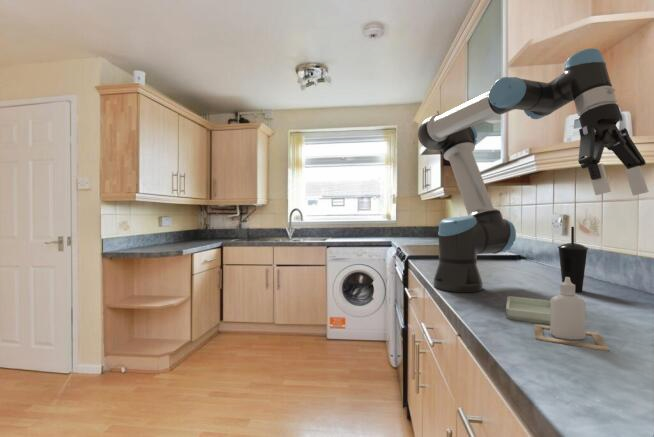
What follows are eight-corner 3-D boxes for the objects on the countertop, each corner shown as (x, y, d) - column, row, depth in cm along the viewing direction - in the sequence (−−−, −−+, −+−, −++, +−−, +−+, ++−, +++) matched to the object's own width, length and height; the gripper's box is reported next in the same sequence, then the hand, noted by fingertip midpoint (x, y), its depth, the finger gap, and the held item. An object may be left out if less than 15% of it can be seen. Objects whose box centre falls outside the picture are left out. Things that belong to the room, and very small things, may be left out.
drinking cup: (593, 294, 96) (593, 227, 95) (562, 292, 98) (562, 227, 98) (581, 288, 103) (581, 226, 103) (553, 286, 105) (553, 226, 105)
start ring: (535, 339, 63) (535, 337, 63) (534, 325, 71) (534, 323, 71) (608, 351, 58) (608, 349, 58) (598, 334, 65) (598, 332, 65)
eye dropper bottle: (551, 330, 68) (551, 274, 67) (585, 336, 64) (585, 277, 64) (549, 337, 64) (549, 277, 64) (585, 343, 61) (585, 281, 61)
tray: (505, 318, 75) (505, 308, 75) (507, 304, 87) (507, 296, 87) (558, 325, 70) (558, 315, 70) (552, 309, 81) (552, 300, 81)
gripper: (578, 96, 71) (605, 187, 66) (647, 107, 79) (675, 189, 75) (546, 114, 78) (568, 198, 73) (612, 122, 86) (636, 198, 81)
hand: (622, 193), depth 74 cm, fingers open, 13 cm apart
